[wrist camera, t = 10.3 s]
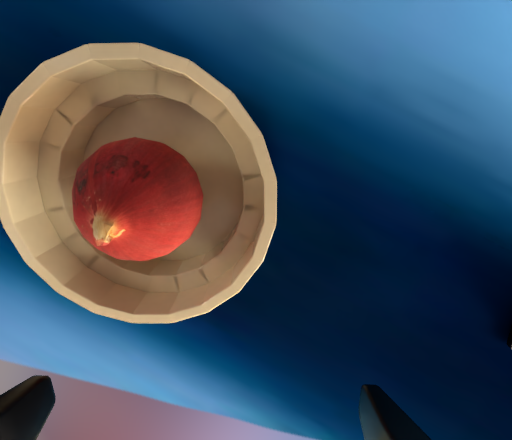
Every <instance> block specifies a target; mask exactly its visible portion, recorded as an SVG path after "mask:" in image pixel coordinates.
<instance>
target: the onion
mask: <svg viewBox="0 0 512 440" xmlns="http://www.w3.org/2000/svg"><path fill="white" fill-rule="evenodd" d="M72 204H73V218H74V222H75V223H76V225H77V227H78V229H79V230H80V232H81V234H82V236H83V237H84V238H85V239H86V240H87V241H89V242H90V243H91V244H92V245H93V246H94V247H95V248H96V249H98V250H100V251H102V252H104V253H106V254H108V255H110V256H112V257H114V258H116V259H120V260H132V261H146V260H150V259H154V258H157V257H161V256H164V255H168V254H169V253H171V252H172V251H173V250H175V249H176V248H177V247H179V246H180V245H181V244H183V243H184V242H185V241H186V240H188V239H189V238H190V237H191V235H192V233H193V231H194V230H195V228H196V226H197V224H198V223H199V221H200V219H201V212H202V204H203V192H202V188H201V185H200V182H199V179H198V175H197V173H196V171H195V170H194V169H193V167H192V166H191V165H190V163H189V162H188V161H187V160H186V158H185V157H184V156H183V155H182V154H180V153H178V152H177V151H175V150H174V149H172V148H171V147H169V146H168V145H166V144H164V143H161V142H157V141H152V140H147V139H142V138H137V137H133V138H128V139H123V140H118V141H114V142H109V143H107V144H105V145H103V146H101V147H100V148H99V149H97V150H96V151H95V152H94V153H93V154H92V155H91V156H89V157H88V158H87V159H86V160H85V161H84V162H83V163H82V164H81V165H80V166H79V167H78V169H77V172H76V176H75V180H74V184H73V188H72Z"/></svg>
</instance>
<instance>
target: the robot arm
mask: <svg viewBox="0 0 512 440" xmlns="http://www.w3.org/2000/svg"><path fill="white" fill-rule="evenodd" d="M507 345H508V346H509V347H510V348H511V349H512V326H511V330H510V333H509V337H508V340H507ZM54 403H55V393H54V390H53V386H52V382H51V379H50V377H48V376H37V375H36V376H32V377H30V378H29V379H27V380H25V381H23V382H22V383H20V384H18V385H17V386H15V387H13V388H12V389H10V390H8V391H7V392H5V393H3V394H2V395H0V440H36V439H37V437H38V435H39V433H40V431H41V429H42V428H43V426H44V424H45V422H46V419H47V418H48V416H49V414H50V412H51V410H52V408H53V406H54ZM359 416H360V421H361V425H362V430H363V434H364V439H365V440H431V439H430V438H429V437H428V436H427V435H426V434H425V433H424V432H423V431H422V430H421V429H420V428H419V427H418V426H417V425H416V423H415V422H414V421H413V420H412V419H411V418H410V417H409V416H408V415H407V414H406V413H405V412H404V411H403V410H402V409H401V408H400V407H399V406H398V405H397V404H396V403H395V402H394V401H393V400H392V399H391V398H390V397H389V396H388V395H387V394H386V393H385V392H384V391H383V390H382V389H381V388H380V387H379V386H377V385H367V384H364V385H362V387H361V393H360V400H359Z"/></svg>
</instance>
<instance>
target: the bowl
mask: <svg viewBox="0 0 512 440" xmlns="http://www.w3.org/2000/svg"><path fill="white" fill-rule="evenodd" d="M133 137H137V138H142V139H147V140H152V141H157V142H161V143H164V144H166V145H168V146H169V147H171V148H172V149H174V150H175V151H177V152H178V153H180V154H182V155H183V156H184V157H185V158H186V160H187V161H188V162H189V163H190V165H191V166H192V167H193V169H194V170H195V171H196V173H197V175H198V179H199V182H200V185H201V188H202V192H203V204H202V212H201V219H200V221H199V223H198V224H197V226H196V228H195V230H194V231H193V233H192V235H191V237H190V238H189V239H188V240H186V241H185V242H184V243H183V244H181V245H180V246H179V247H177V248H176V249H175V250H173V251H172V252H171V253H169V254H168V255H164V256H161V257H157V258H154V259H150V260H146V261H132V260H120V259H116V258H114V257H112V256H110V255H108V254H106V253H104V252H102V251H100V250H98V249H96V248H95V247H94V246H93V245H92V244H91V243H90V242H89V241H87V240H86V239H85V238H84V237H83V236H82V234H81V232H80V230H79V229H78V227H77V225H76V223H75V222H74V218H73V204H72V188H73V184H74V180H75V176H76V172H77V169H78V167H79V166H80V165H81V164H82V163H83V162H84V161H85V160H86V159H87V158H88V157H89V156H91V155H92V154H93V153H94V152H95V151H96V150H97V149H99V148H100V147H101V146H103V145H105V144H107V143H109V142H114V141H118V140H123V139H128V138H133ZM276 179H277V178H276V175H275V172H274V169H273V166H272V162H271V159H270V156H269V153H268V150H267V147H266V143H265V140H264V137H263V134H262V132H261V131H260V129H259V128H258V127H257V125H256V124H255V122H254V121H253V119H252V118H251V117H250V115H249V114H248V112H247V111H246V110H245V108H244V107H243V105H242V104H241V103H240V101H239V100H238V98H237V97H236V96H235V94H234V93H233V92H232V91H231V90H229V89H228V88H227V87H225V86H224V85H223V84H221V83H220V82H219V81H218V80H216V79H215V78H214V77H212V76H211V75H210V74H208V73H207V72H206V71H204V70H203V69H202V68H200V67H199V66H198V65H196V64H195V63H194V62H192V61H190V60H189V59H186V58H184V57H181V56H178V55H175V54H172V53H169V52H166V51H163V50H160V49H157V48H154V47H151V46H148V45H145V44H142V43H89V44H85V45H83V46H80V47H78V48H75V49H73V50H71V51H68V52H66V53H63V54H61V55H58V56H56V57H54V58H51V59H49V60H46V61H44V62H43V63H41V64H40V65H39V66H38V67H37V68H36V69H35V70H34V71H33V72H32V73H31V74H30V75H29V76H28V77H27V78H26V79H25V80H24V81H23V82H22V83H21V84H20V85H19V86H18V87H17V88H16V89H15V90H14V91H13V92H12V93H11V94H10V96H9V97H8V99H7V102H6V104H5V107H4V109H3V111H2V114H1V116H0V219H1V223H2V225H3V228H4V229H5V231H6V232H7V234H8V236H9V237H10V239H11V240H12V242H13V244H14V245H15V247H16V249H17V250H18V252H19V253H20V255H21V257H22V258H23V260H24V261H25V262H27V263H26V264H27V265H28V266H29V267H31V268H32V269H33V270H34V271H35V272H36V273H37V274H38V275H39V276H40V277H41V278H42V279H43V280H44V281H45V282H46V283H47V284H49V285H50V286H51V287H52V288H53V289H54V290H55V291H56V292H58V293H59V294H61V295H62V296H64V297H66V298H68V299H70V300H71V301H73V302H75V303H77V304H79V305H80V306H82V307H84V308H86V309H88V310H89V311H91V312H94V313H96V314H99V315H103V316H107V317H111V318H114V319H118V320H122V321H126V322H129V323H132V322H133V323H173V322H177V321H180V320H184V319H187V318H191V317H194V316H198V315H201V314H205V313H207V312H209V311H211V310H212V309H214V308H215V307H217V306H218V305H220V304H222V303H223V302H225V301H226V300H228V299H229V298H231V297H232V296H234V295H235V294H237V293H238V292H239V291H240V290H241V289H242V288H243V287H244V285H245V284H246V283H247V281H248V280H249V279H250V278H251V276H252V275H253V274H254V273H255V271H256V270H257V269H258V268H259V266H260V265H261V264H262V262H263V261H264V258H265V255H266V252H267V249H268V246H269V244H270V241H271V238H272V235H273V232H274V229H275V227H276V222H277V180H276Z"/></svg>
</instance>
